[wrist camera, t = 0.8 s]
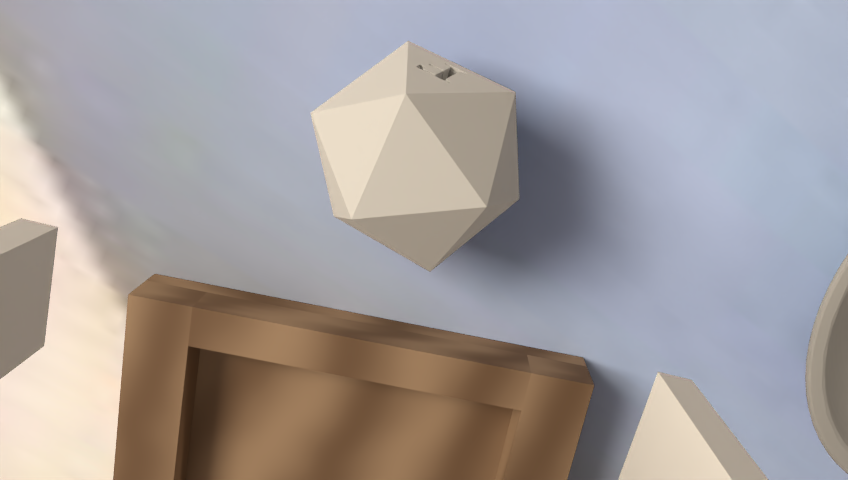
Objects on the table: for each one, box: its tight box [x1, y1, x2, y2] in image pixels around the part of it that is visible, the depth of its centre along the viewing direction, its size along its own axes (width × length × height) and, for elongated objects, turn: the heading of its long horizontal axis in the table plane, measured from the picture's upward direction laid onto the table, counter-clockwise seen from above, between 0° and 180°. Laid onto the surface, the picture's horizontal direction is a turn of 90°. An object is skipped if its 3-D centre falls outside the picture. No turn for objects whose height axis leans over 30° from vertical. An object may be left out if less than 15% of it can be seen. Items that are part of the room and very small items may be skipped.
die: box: [311, 41, 519, 271], centre depth 30 cm, size 8×9×10 cm
